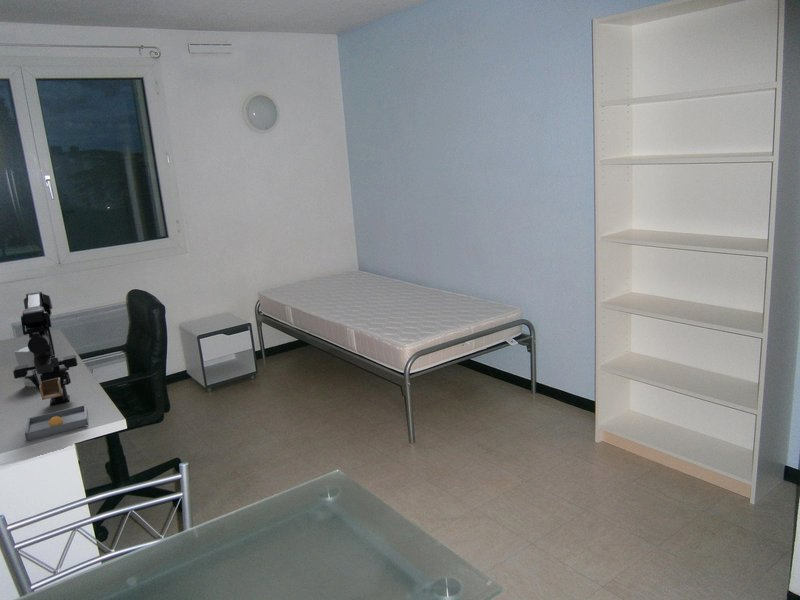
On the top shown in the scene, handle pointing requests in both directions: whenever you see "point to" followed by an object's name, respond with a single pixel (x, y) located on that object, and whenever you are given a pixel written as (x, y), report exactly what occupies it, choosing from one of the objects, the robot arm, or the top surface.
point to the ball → (55, 421)
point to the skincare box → (24, 358)
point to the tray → (41, 426)
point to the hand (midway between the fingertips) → (51, 390)
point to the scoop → (50, 388)
